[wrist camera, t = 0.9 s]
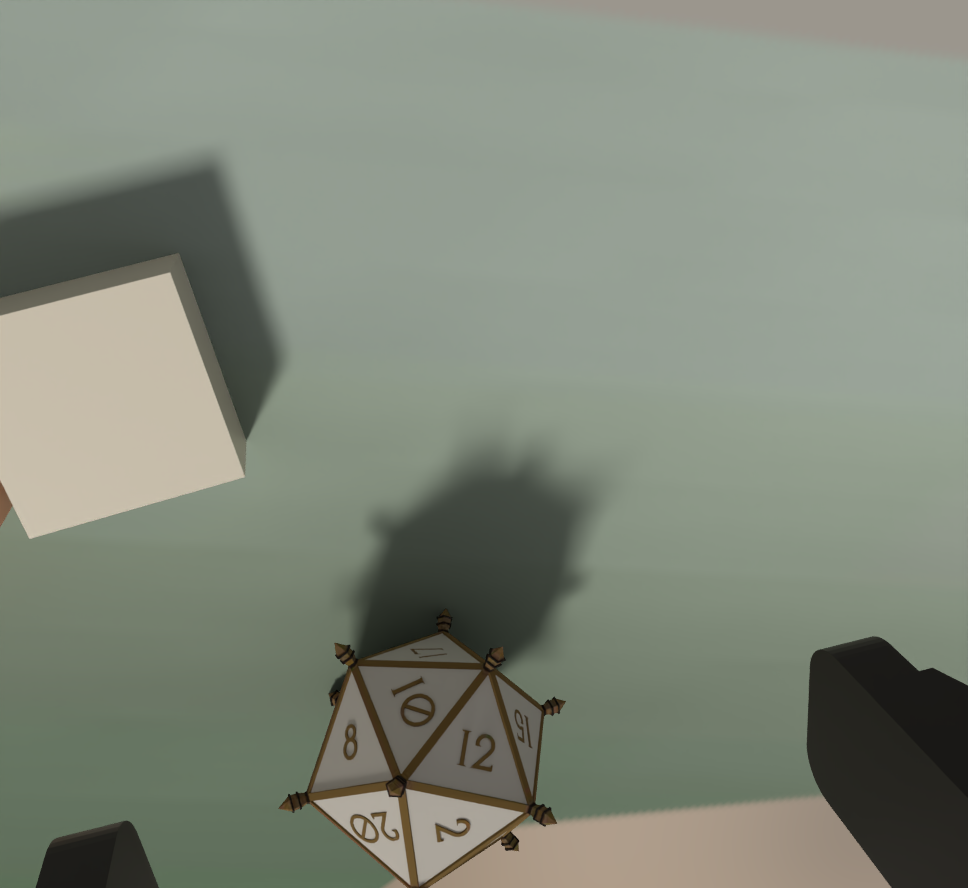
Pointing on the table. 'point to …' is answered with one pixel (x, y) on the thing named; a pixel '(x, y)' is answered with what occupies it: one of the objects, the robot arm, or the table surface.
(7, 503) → the terracotta tile
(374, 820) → the game die
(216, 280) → the table surface
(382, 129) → the table surface
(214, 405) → the cream tile
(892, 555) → the table surface
